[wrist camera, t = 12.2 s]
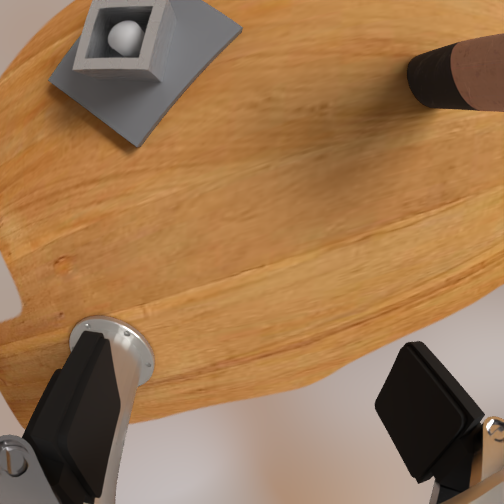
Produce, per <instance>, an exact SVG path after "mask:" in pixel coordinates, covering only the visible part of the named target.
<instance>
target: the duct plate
mask: <svg viewBox="0 0 504 504" xmlns="http://www.w3.org/2000/svg"><path fill="white" fill-rule="evenodd" d="M169 1H170V4H171V6H172V9H173V11H174V14H175V17H176V19H177V22H176V26H175V29H174V33H173V37H172V41H171V45H170V49H169V53H168V57H167V61H166V65H165V70H164V74H163V79H162V82H155V81H136V80H97V79H94V78H92V77H89V76H87V75H84V74H82V73H79V72H76V71H74V70H72V69H73V65H74V61H75V57H76V53H77V49H78V45H79V42H80V38H81V36H80V37H79V38H78V39H77V41H76V42H75V43H74V44H73V46H72V47H71V48H70V50H69V51H68V52H67V54H66V55H65V57H64V58H63V59H62V61H61V62H60V64H59V65H58V66H57V68H56V69H55V71H54V72H53V74H52V75H51V77H50V78H49V80H48V81H50V82H51V83H52V84H54V85H55V86H56V87H58V88H59V89H60V90H62V91H63V92H64V93H66V94H67V95H68V96H70V97H71V98H72V99H74V100H75V101H76V102H78V103H79V104H80V105H82V106H83V107H84V108H86V109H87V110H88V111H90V112H91V113H92V114H94V115H95V116H96V117H98V118H99V119H100V120H102V121H103V122H104V123H106V124H107V125H108V126H110V127H111V128H112V129H114V130H115V131H116V132H117V133H119V134H120V135H121V136H123V137H124V138H125V139H127V140H128V141H129V142H131V143H132V144H133V145H135V146H136V147H141V146H142V144H143V143H144V142H145V140H146V139H147V138H148V136H149V135H150V134H151V132H152V131H153V130H154V128H155V127H156V126H157V125H158V123H159V122H160V121H161V120H162V118H163V117H164V116H165V115H166V113H167V112H168V111H169V110H170V108H171V107H172V106H173V105H174V104H175V102H176V101H177V100H178V99H179V98H180V96H181V95H182V94H183V93H184V92H185V91H186V90H187V88H188V87H189V86H190V85H191V84H192V83H193V82H194V80H195V79H196V78H197V77H198V76H199V75H200V74H201V73H202V72H203V71H204V70H205V69H206V67H207V66H208V65H209V64H210V63H211V62H212V61H213V60H214V59H215V58H216V57H217V56H218V55H219V54H220V53H221V52H222V51H223V50H224V49H225V48H226V47H227V46H228V45H229V44H230V43H231V42H232V41H233V40H234V39H235V38H236V37H237V36H238V35H239V34H240V33H241V32H242V29H243V27H241V26H240V25H238V24H237V23H236V22H234V21H233V20H231V19H230V18H228V17H227V16H225V15H224V14H222V13H221V12H219V11H218V10H216V9H215V8H213V7H212V6H210V5H208V4H207V3H205V2H204V1H202V0H169ZM145 32H146V28H143V27H139V25H138V24H137V23H136V22H134V21H123V22H120V23H118V24H117V25H115V26H114V27H113V28H112V30H111V31H110V33H109V36H108V43H109V45H110V46H111V47H112V48H113V53H112V57H111V58H139V55H140V51H141V47H142V43H143V39H144V36H145ZM81 35H82V34H81Z"/></svg>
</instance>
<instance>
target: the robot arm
mask: <svg viewBox="0 0 504 504" xmlns="http://www.w3.org/2000/svg"><path fill="white" fill-rule="evenodd" d="M69 346H70V350H71V354H70V355H69V357H68V359H67V361H66V363H65V365H64V366H63V368H62V369H57V370H56V371H55V372H54V374H53V376H52V377H51V379H50V381H49V383H48V385H47V387H46V389H45V391H44V393H43V395H42V397H41V399H40V400H39V402H38V405H37V407H36V409H35V411H34V413H33V415H32V417H31V419H30V421H29V423H28V425H27V428H26V430H25V432H24V434H23V436H22V438H20V437H18V436H14V435H3V436H1V437H0V504H115V496H116V485H117V478H118V472H119V466H120V461H121V456H122V451H123V446H124V441H125V437H126V432H127V428H128V424H129V419H130V415H131V411H132V407H133V402H134V398H135V394H136V390H137V387H138V386H140V385H142V384H144V383H145V382H147V381H148V380H149V378H150V377H151V376H152V373H153V370H154V365H155V358H154V353H153V350H152V348H151V346H150V344H149V343H148V341H147V340H146V339H145V337H144V336H143V335H142V334H141V333H140V332H139V331H137V330H136V329H135V328H133V327H132V326H131V325H129V324H127V323H125V322H123V321H121V320H119V319H116V318H113V317H108V316H91V317H87V318H85V319H82V320H81V321H80V322H78V323H77V325H76V326H75V327H74V329H73V330H72V332H71V334H70V339H69ZM375 409H376V412H377V413H378V415H379V417H380V419H381V421H382V422H383V424H384V426H385V428H386V430H387V431H388V433H389V435H390V437H391V439H392V441H393V443H394V444H395V446H396V448H397V450H398V452H399V454H400V456H401V457H402V459H403V461H404V463H405V465H406V467H407V469H408V471H409V472H410V474H411V476H412V477H413V478H416V480H417V482H418V484H419V483H422V482H424V481H427V480H429V479H430V478H431V477H432V476H434V477H435V482H434V487H433V490H432V494H431V499H430V502H429V504H504V420H503V419H502V418H499V417H495V416H492V417H488V418H487V419H486V420H485V421H484V422H483V424H482V425H481V423H480V421H481V420H482V418H483V417H484V415H485V414H484V413H483V411H482V410H481V409H480V408H479V407H478V405H477V404H476V403H475V402H474V400H473V399H472V398H471V397H470V396H469V395H468V393H467V392H466V391H465V390H464V388H463V387H462V386H461V385H460V384H459V383H458V381H457V380H456V379H455V378H454V377H453V376H452V375H451V373H450V372H449V371H448V370H447V369H446V368H445V367H444V365H443V364H442V363H441V362H440V361H439V360H438V359H437V358H436V356H435V355H434V354H433V353H432V352H431V351H430V350H429V349H428V347H427V346H426V345H425V344H424V343H423V342H420V341H417V342H408V343H406V344H405V345H404V346H403V347H402V348H401V349H400V351H399V353H398V356H397V358H396V360H395V362H394V365H393V367H392V369H391V371H390V373H389V375H388V377H387V379H386V381H385V383H384V385H383V388H382V389H381V391H380V393H379V395H378V397H377V399H376V401H375Z"/></svg>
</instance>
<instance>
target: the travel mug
mask: <svg viewBox="0 0 504 504" xmlns="http://www.w3.org/2000/svg"><path fill="white" fill-rule="evenodd" d="M407 78H408V83H409V86H410V89H411V91H412V93H413V94H414V96H415V97H416V98H417V99H418V100H419V101H420V102H421V103H422V104H423V105H425V106H427V107H430V108H440V109H462V110H477V111H499V112H504V34H497V35H491V36H486V37H480V38H475V39H470V40H466V41H461V42H458V43H454V44H451V45H448V46H445V47H441V48H438V49H435V50H432V51H429V52H426V53H424V54H421V55H418V56H416V57H415V58H413V59H412V60H411V62H410V63H409V66H408V70H407Z"/></svg>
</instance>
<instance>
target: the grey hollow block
mask: <svg viewBox="0 0 504 504" xmlns="http://www.w3.org/2000/svg"><path fill="white" fill-rule="evenodd" d="M123 21H134V22H136V23H137V24H138V25H139V27H143V28H146V32H145V36H144V39H143V43H142V47H141V51H140V55H139V58H111V57H112V53H113V48H112V47H111V46H110V45H109V43H108V36H109V33H110V31H111V30H112V28H113V27H114V26H115V25H117V24H118V23H120V22H123ZM176 22H177V19H176V17H175V14H174V11H173V9H172V6H171V4H170V1H169V0H93V1H92V4H91V6H90V9H89V12H88V15H87V18H86V21H85V25H84V28H83V31H82V35H81V38H80V42H79V45H78V49H77V53H76V57H75V61H74V65H73V69H72V70H74V71H76V72H79V73H82V74H84V75H87V76H89V77H92V78H94V79H97V80H136V81H155V82H162V79H163V74H164V70H165V65H166V61H167V57H168V53H169V49H170V45H171V41H172V37H173V33H174V29H175V26H176Z"/></svg>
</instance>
